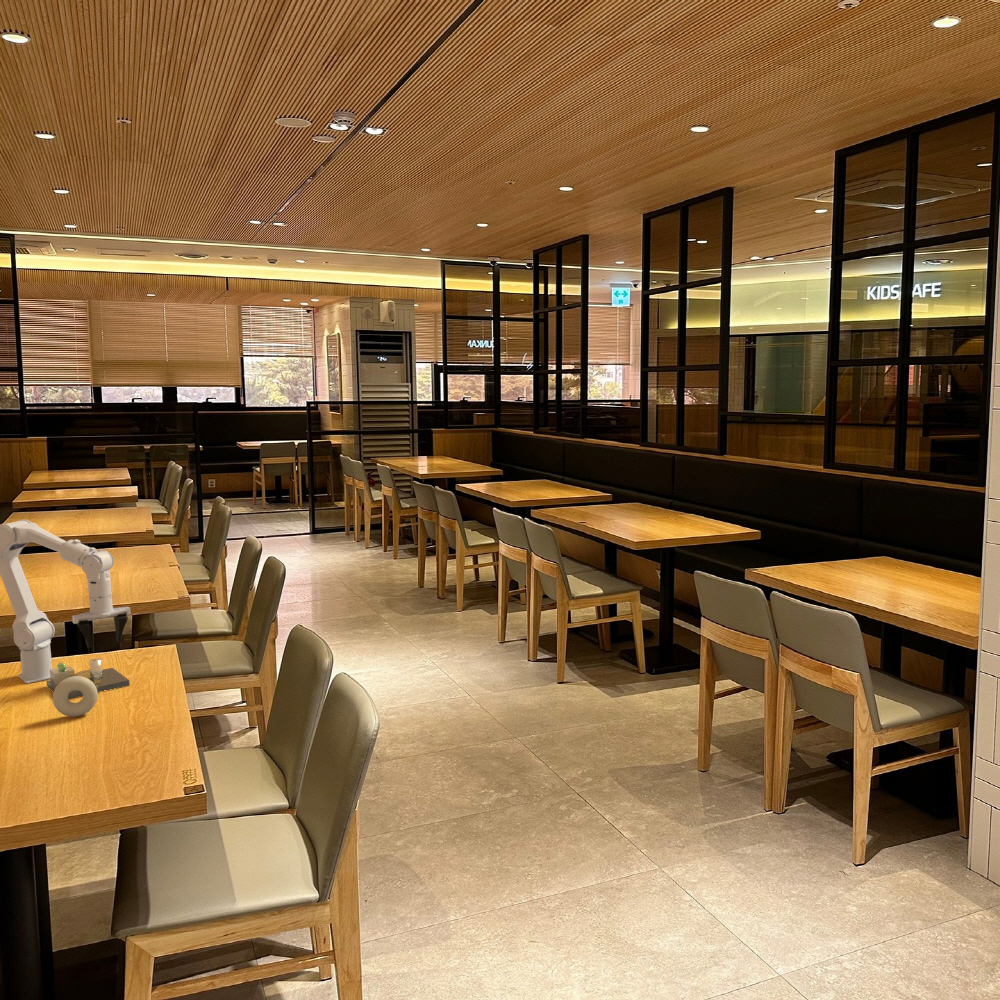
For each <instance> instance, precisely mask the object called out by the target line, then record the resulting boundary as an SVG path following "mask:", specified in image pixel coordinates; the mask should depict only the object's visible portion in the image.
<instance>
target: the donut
mask: <svg viewBox="0 0 1000 1000" xmlns="http://www.w3.org/2000/svg"><path fill="white" fill-rule="evenodd" d="M73 690H79V691H81V692H82V694H83V696H82V699H80V700H79V701H77V702H72V701H70V700H69V699H68V694H69V693H70V692H71V691H73ZM98 695H99V692H97V688H96V686H95V685H94V683H93V682H92V681H90V680H89V679H88V678H85V677H82V676H73V677H69V678H66V679H65V680H63V681H61V682H60V683H59V684H58V685H57V687H56V688H55V690H54V692H52V703H53V707H54V708H55V709H56V711H58V712H59V713H60V714H61V715H63V716H66V717H73V718H74V717H75V718H77V717H80V716H85V715H86V714H88V713H89V712H90V711H92V709H93V708H94V707H95V705H96V704H97V701H98Z"/></svg>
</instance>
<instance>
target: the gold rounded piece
mask: <svg viewBox="0 0 1000 1000" xmlns="http://www.w3.org/2000/svg"><path fill="white" fill-rule="evenodd" d="M88 665H89V669H86V670H81V671H78V672H75V676H82V677H85V678H88V679H89V680H90V681H92V682H93V683H94V684H95V683H99V682H101V679H103V672H102V670H103V661H102V658H93V659H90V660H89V661H88Z"/></svg>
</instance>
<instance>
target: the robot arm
mask: <svg viewBox="0 0 1000 1000" xmlns="http://www.w3.org/2000/svg"><path fill="white" fill-rule="evenodd" d="M29 543H35V544H37V545H39V546H43V547H44V548H48V549H50V550H53V551H56V552H58V553H59V556H60V559H62V560H65V561H66V562H69V563H70V564H73V565H75V566H77V567H80V568H81V570H82V571H83V573H84V574H85V575H86V580H87V590H88V602H89V603H88V604H89V611H88V612H83V613H78V614H73V615H72V617H71V618H72V619H71V620H72V623H73V624H74V625H75V624H76V626H77V627H78V629H79V631H80V632H81V633H82V637H84V640H85V644H86V647H87V648H88V649H92V646H93V645H92V644H93V643H92V637H91V634H92V633H91V627H92V625H91V624H90V621H96V620H102V619H108V618H112V617H113V622H114V628H115V641H116V642H117V643H118V644H119V643H122V637H123V633H124V629H125V626H126V624H127V622H128V620H129V615H131V607H129V606H122V607H114V606H113V593H112V582H111V581H112V580H111V579H112V578H111V569H112V568H113V567H114V563H115V562H114V561H115V560H114V556H113V555H112V554H111V553H110V552H108V551H107V550H106V549H101V550H97V549H96V548H95V547H90V546H88V545H85V544H83V543H81V540H80V539H78V538H77V539H69V540H65V539H62V538H61V537H59V536H57V535H55V534H54V533H51V532H49V531H47V530H46V529H44V528H42V527H40V526H39V525H38V524H37V523H35V522H31V521H30V520H28V519H20V520H17V521H16V520H15V521H13V522H9V523H1V524H0V577H1V578H0V579H1V580H2V582H3V585H4V588H5V591H6V593H7V595H8V599H9V601H10V604H11V607H12V609H13V612H14V614H15V619H14V620H13V623H12V625H11V626H12V627H11V628H12V631H13V642H14V644H15V645H16V646H17V648H19V650H20V665H21V666H20V668H21V673H18V674H17V676H18V677H19V678H20V680H21V681H22V682H23V683H24V684H31V683H35V682H41V681H45V680H46V681H47V680H51V679H50V669H53V664H52V651H51V643H52V641H51V640H52V638H53V637H54V636H55V633H56V631H55V629H56V628H55V626H54V624H53V623H52V622H51V621H50V620H49V618H48V616H47V614H46V613H45V612H43V611H41V610H39V609H38V606H37V604H36V601H35V599H34V596H33V594H32V591H31V588H30V586H29V582H28V580H27V578H26V575H25V573H24V570H23V568H22V565H21V562H20V559H19V555H20V554H21V552H22V550H23V549H24V548H25V546H27V545H28V544H29Z"/></svg>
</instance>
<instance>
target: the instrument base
mask: <svg viewBox="0 0 1000 1000" xmlns="http://www.w3.org/2000/svg"><path fill="white" fill-rule="evenodd" d="M75 671H76V670H75V669H74V668H73V667H72V666H71V665H66V664H65V663H63V662H59V663H58V664H57V667H55V668H52V669H50V679H48V680H46V687H47V686H48V687H47V688H48V689H49V688H50V689H51V690H52V691H53V692H54V690H55V688H56V687H57V685H58V684H59V683H60V682H61V681H63V680H65V679H66V678H69V677H73V676H75V674H76V672H75ZM102 672H103V679H101V682H99V683H95V684H94V685H95V686H96V688H97V692H98V693H100V692H99V691H103V692H105V691H104V690H107V691H111V690H110V689H112V690H115V689H114V688H116V689H119V688H118V687H121V688H125V686H126V687H130V679H129V678H127V677H126V676H124V675H123V674H121V672H119V671H118V670H116V669H114V667H109V668H105V669H103V668H102ZM123 686H124V687H123ZM50 689H49V690H50ZM51 690H50V691H51ZM52 691H51V692H52ZM53 692H52V693H53ZM79 696H80V697H83V694H82V692H81V691H79V690H73V691H71V692H70V693H69V694H68V699H74V698H78V697H79Z"/></svg>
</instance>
